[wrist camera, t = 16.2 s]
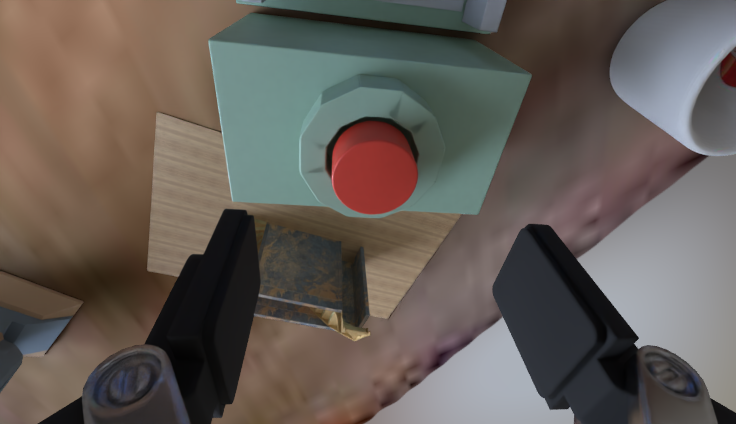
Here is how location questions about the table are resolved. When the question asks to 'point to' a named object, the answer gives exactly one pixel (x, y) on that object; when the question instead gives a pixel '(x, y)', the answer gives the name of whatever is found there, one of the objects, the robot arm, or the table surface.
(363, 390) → the table surface
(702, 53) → the cup
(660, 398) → the robot arm
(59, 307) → the alarm clock
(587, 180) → the table surface
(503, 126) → the red push button box
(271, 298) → the architectural model on board
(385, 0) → the drip tray
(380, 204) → the button
